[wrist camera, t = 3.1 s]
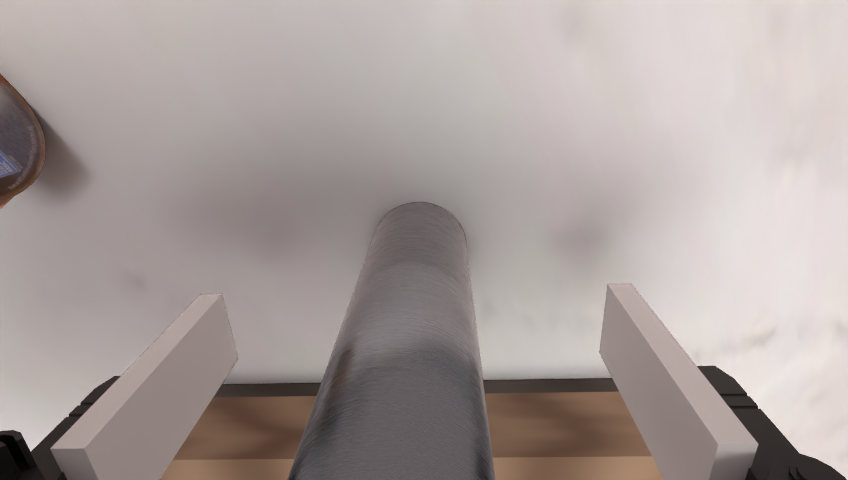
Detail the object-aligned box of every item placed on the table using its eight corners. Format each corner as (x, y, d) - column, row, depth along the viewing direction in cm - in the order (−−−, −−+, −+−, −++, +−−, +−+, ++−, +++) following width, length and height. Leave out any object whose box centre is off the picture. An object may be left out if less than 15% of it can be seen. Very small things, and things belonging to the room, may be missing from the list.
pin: (377, 288, 23) (259, 738, 8) (368, 203, 21) (198, 578, 6) (466, 285, 22) (514, 744, 8) (465, 200, 21) (524, 580, 6)
